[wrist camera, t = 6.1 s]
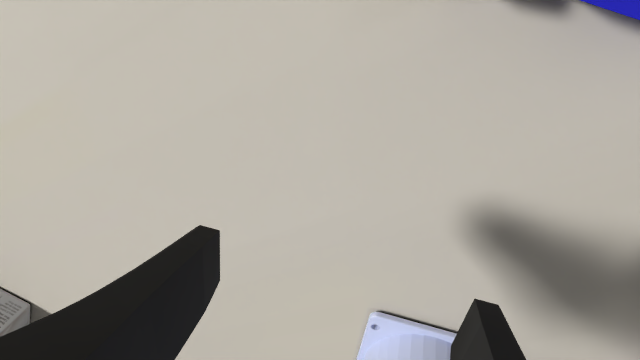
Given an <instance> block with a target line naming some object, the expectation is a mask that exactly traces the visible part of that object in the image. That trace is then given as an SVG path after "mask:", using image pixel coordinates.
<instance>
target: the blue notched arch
mask: <svg viewBox="0 0 640 360" xmlns="http://www.w3.org/2000/svg"><path fill="white" fill-rule="evenodd" d="M581 1H584V2H587V3H590V4H593V5H596V6H599V7H602V8H605V9H608V10H611V11H614V12H617V13H620V14H623V15H626V16H629V17H632V18H635V19H638V20H640V0H581Z"/></svg>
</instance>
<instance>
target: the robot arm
mask: <svg viewBox="0 0 640 360" xmlns="http://www.w3.org/2000/svg"><path fill="white" fill-rule="evenodd" d="M219 281H220V230H216V229H212V228H208V227H205V226H201V225H199V226H198V227H196V228H195V229H193V230H192V231H190V232H189V233H187V234H186V235H184V236H183V237H181V238H180V239H178V240H177V241H176V242H174V243H173V244H171V245H170V246H168V247H167V248H165V249H164V250H162V251H161V252H159V253H158V254H156V255H155V256H153V257H152V258H150V259H149V260H147V261H146V262H144V263H143V264H141V265H140V266H138V267H136V268H135V269H133V270H132V271H130V272H128V273H127V274H125V275H123V276H122V277H120V278H118V279H117V280H115V281H113V282H112V283H110V284H108V285H107V286H105V287H103V288H102V289H100V290H98V291H96V292H94V293H93V294H91V295H89V296H87V297H85V298H83V299H81V300H80V301H78V302H76V303H74V304H72V305H70V306H68V307H66V308H64V309H62V310H60V311H58V312H56V313H53V314H51V315H49V316H47V317H45V318H42V319H40V320H38V321H36V322H33V323H31V324H29V325H26V326H24V327H22V328H19V329H17V330H15V331H13V332H10V333H8V334H5V335H3V336H1V337H0V360H175V358H176V357H177V355H178V354H179V352H180V350H181V349H182V347H183V346H184V344H185V343H186V341H187V339H188V338H189V336H190V335H191V333H192V332H193V330H194V328H195V327H196V325H197V324H198V322H199V320H200V319H201V317H202V316H203V314H204V312H205V310H206V308H207V306H208V304H209V302H210V300H211V298H212V296H213V294H214V292H215V290H216V288H217V285H218V283H219ZM375 324H376V325H375ZM356 360H526V358H525V356H524V354H523V352H522V351H521V349H520V347H519V345H518V343H517V341H516V339H515V337H514V335H513V333H512V331H511V329H510V327H509V325H508V323H507V321H506V319H505V317H504V315H503V313H502V311H501V309H500V307H499V306H498V305H496V304H492V303H489V302H485V301H481V300H477V299H474V301H473V303H472V305H471V307H470V309H469V311H468V313H467V315H466V317H465V319H464V321H463V323H462V325H461V327H460V329H459V331H458V333H457V334H456V333H452V332H449V331H445V330H442V329H438V328H435V327H431V326H427V325H424V324H420V323H417V322H413V321H409V320H406V319H402V318H399V317H395V316H392V315H388V314H384V313H381V312H373V313H371V314H370V316H369V319H368V322H367V326H366V329H365V332H364V336H363V339H362V342H361V346H360V349H359V352H358V355H357V359H356Z"/></svg>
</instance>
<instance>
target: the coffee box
mask: <svg viewBox="0 0 640 360" xmlns="http://www.w3.org/2000/svg"><path fill="white" fill-rule="evenodd" d="M29 324H30V304H29V303H27V302H25V301H23V300H21V299H19V298H17V297H15V296H13V295H11V294H10V293H8V292H6V291H4V290H2V289H0V337H1V336H3V335H5V334H8V333H10V332H13V331H15V330H17V329H19V328H22V327H24V326H26V325H29Z"/></svg>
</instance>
